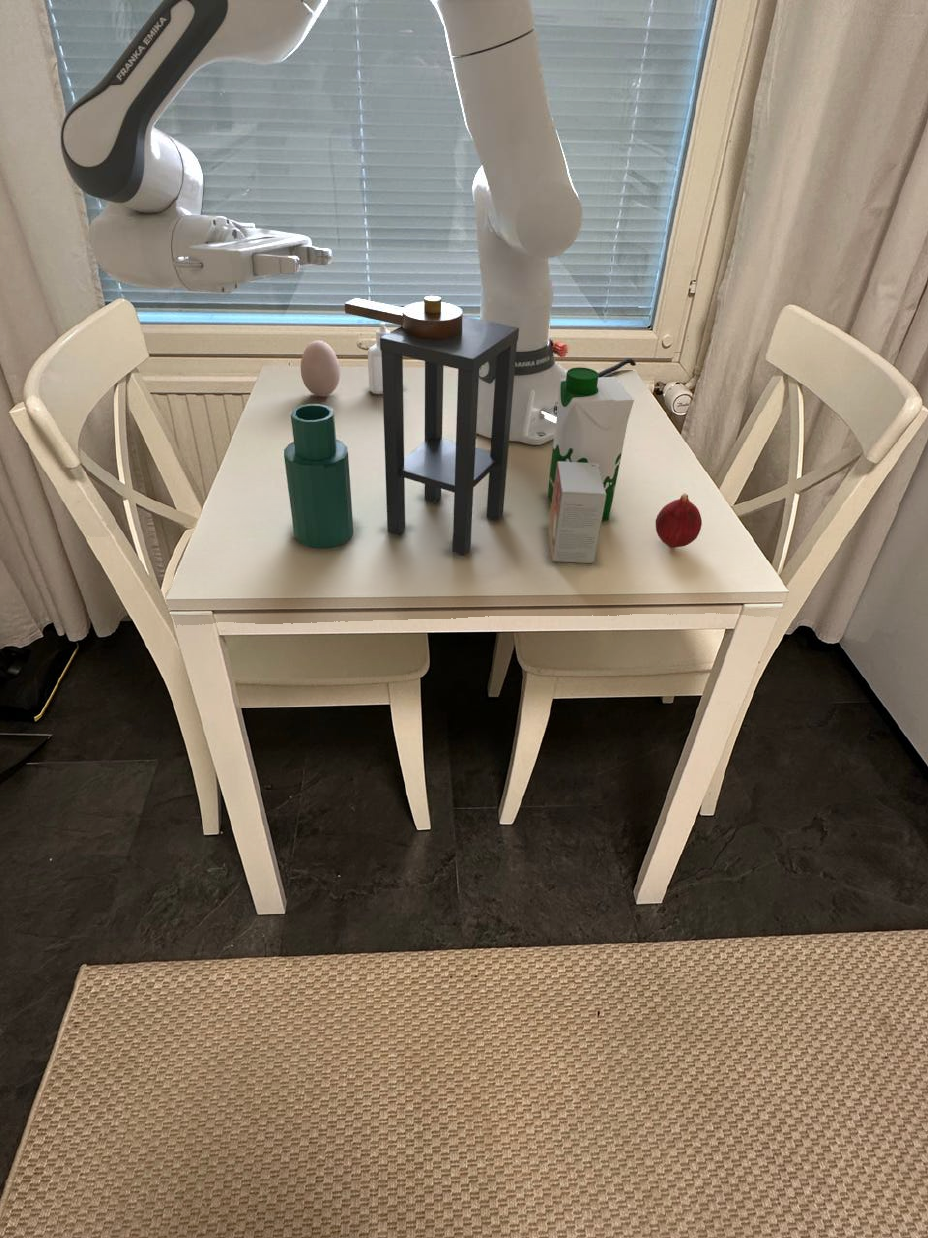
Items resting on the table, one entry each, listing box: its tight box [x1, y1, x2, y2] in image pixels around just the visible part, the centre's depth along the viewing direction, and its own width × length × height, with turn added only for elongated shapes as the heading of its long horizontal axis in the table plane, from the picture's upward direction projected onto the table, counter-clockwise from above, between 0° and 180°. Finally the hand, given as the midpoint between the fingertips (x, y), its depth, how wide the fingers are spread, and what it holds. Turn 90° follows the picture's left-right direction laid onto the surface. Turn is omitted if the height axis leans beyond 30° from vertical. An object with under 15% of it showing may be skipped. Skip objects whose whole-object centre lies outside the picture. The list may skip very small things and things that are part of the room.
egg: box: [300, 340, 341, 398], centre depth 132 cm, size 7×7×10 cm
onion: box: [655, 492, 703, 549], centre depth 99 cm, size 6×6×8 cm
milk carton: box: [547, 367, 635, 521], centre depth 102 cm, size 9×9×20 cm
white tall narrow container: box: [367, 322, 391, 395], centre depth 135 cm, size 4×6×12 cm
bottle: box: [283, 403, 354, 549], centre depth 96 cm, size 8×8×17 cm
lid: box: [344, 295, 464, 339], centre depth 89 cm, size 15×7×3 cm, turn 62°
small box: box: [547, 461, 606, 564], centre depth 98 cm, size 8×6×10 cm
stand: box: [380, 315, 519, 557], centre depth 96 cm, size 12×12×26 cm
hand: (314, 260), depth 92 cm, fingers open, 8 cm apart
